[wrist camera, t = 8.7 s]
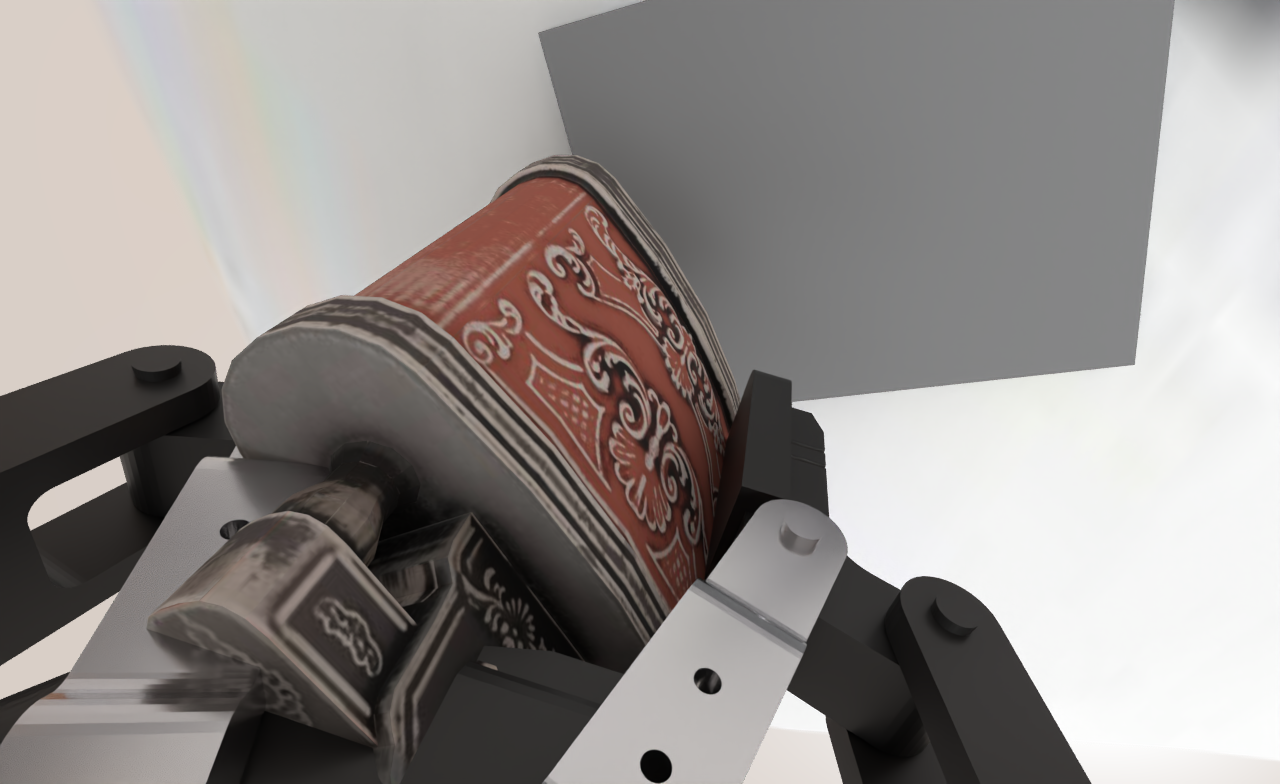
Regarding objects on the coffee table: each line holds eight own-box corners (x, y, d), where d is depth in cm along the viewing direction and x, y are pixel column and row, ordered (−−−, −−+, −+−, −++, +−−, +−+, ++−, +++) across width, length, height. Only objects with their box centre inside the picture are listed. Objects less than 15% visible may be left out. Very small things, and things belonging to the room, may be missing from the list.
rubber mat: (544, 32, 22) (538, 32, 22) (1180, -159, 17) (1192, -164, 17) (649, 410, 29) (646, 417, 29) (1127, 356, 24) (1134, 364, 23)
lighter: (464, 201, 13) (-141, 578, 5) (609, 119, 12) (119, 441, 3) (652, 504, 16) (487, 1065, 8) (784, 467, 15) (759, 1098, 6)
